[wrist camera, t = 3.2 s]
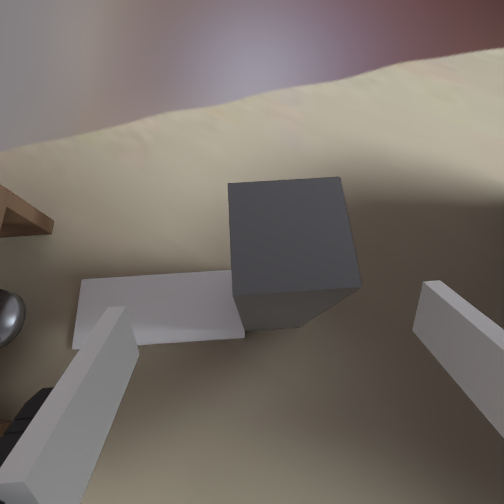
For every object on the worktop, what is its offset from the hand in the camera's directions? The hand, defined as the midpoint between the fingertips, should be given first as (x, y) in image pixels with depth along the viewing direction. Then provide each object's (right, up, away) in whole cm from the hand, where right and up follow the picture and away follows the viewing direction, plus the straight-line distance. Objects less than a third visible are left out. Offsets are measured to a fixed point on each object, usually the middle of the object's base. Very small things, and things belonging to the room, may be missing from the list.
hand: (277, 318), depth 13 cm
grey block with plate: (-6, -1, +9) cm, 10 cm away
